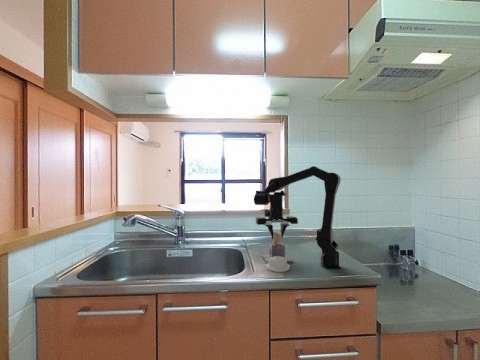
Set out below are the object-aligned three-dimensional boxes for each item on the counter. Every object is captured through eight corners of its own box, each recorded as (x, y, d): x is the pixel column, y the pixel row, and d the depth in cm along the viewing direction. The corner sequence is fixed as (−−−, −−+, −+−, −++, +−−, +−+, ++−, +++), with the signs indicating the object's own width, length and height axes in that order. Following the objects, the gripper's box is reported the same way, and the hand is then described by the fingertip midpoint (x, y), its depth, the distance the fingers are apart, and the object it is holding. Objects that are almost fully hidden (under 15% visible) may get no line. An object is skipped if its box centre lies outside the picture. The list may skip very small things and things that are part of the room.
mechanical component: (266, 264, 119) (265, 272, 109) (266, 254, 119) (265, 261, 110) (289, 265, 118) (290, 273, 108) (289, 255, 118) (290, 261, 108)
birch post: (279, 252, 129) (279, 231, 129) (281, 254, 125) (281, 232, 125) (271, 253, 128) (271, 231, 128) (273, 255, 124) (273, 233, 124)
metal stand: (286, 255, 133) (285, 241, 133) (293, 262, 121) (293, 246, 121) (261, 256, 132) (261, 242, 132) (266, 263, 120) (266, 247, 120)
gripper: (291, 203, 136) (291, 235, 135) (253, 204, 134) (254, 236, 134) (297, 205, 125) (298, 239, 124) (257, 206, 123) (257, 241, 123)
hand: (276, 239), depth 126 cm, fingers closed on birch post, 4 cm apart
